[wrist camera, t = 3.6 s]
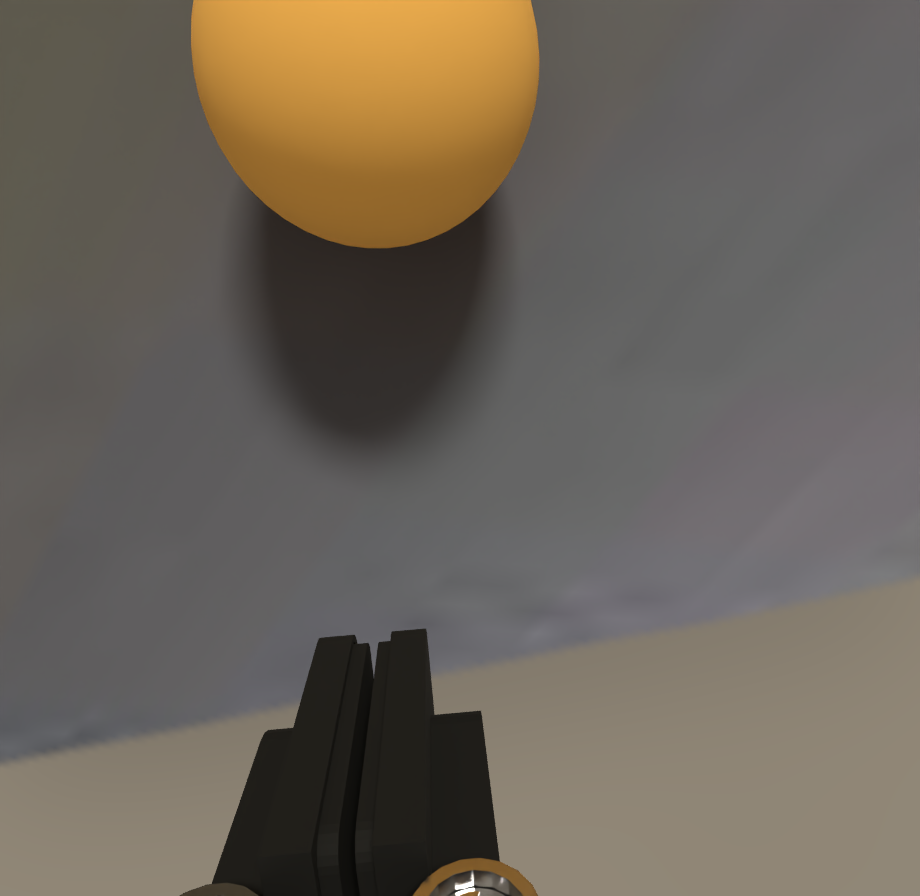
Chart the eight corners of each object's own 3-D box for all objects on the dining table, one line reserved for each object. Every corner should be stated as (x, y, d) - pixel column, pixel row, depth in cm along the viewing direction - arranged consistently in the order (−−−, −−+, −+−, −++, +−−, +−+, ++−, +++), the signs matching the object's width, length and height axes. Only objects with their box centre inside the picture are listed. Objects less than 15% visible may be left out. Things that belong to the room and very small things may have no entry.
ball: (511, -60, 14) (565, -275, 8) (523, 239, 16) (573, 234, 10) (225, -42, 14) (77, -245, 8) (269, 256, 16) (172, 263, 10)
